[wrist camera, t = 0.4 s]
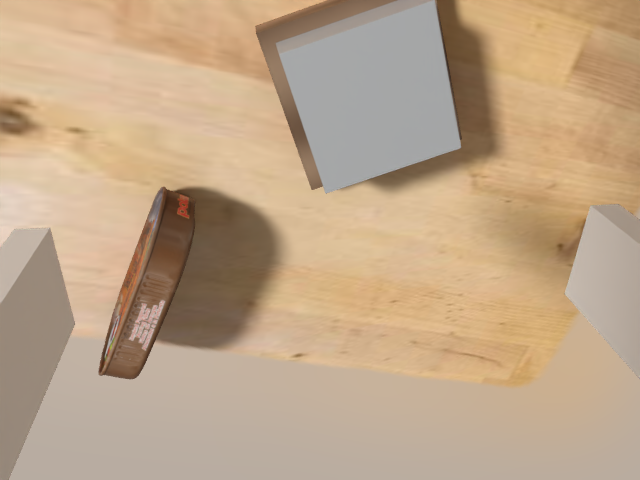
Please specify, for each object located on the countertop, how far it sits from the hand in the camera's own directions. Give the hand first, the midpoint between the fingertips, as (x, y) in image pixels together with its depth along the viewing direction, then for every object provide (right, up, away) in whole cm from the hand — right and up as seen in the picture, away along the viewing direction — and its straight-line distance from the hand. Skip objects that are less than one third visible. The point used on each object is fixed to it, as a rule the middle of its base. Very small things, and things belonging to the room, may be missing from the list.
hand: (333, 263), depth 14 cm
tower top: (+3, +10, +22) cm, 24 cm away
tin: (-13, -1, +29) cm, 32 cm away
